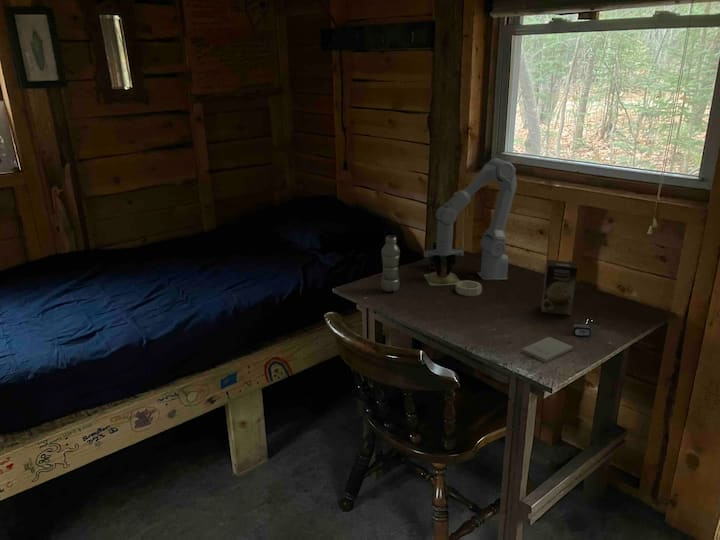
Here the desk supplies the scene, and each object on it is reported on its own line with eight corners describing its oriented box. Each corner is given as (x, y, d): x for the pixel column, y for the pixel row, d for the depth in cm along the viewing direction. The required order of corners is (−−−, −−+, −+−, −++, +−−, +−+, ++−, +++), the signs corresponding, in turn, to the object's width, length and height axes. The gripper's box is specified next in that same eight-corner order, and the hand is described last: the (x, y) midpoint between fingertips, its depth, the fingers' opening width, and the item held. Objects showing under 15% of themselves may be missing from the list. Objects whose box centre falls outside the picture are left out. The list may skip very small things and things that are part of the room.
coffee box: (541, 312, 181) (546, 265, 176) (540, 304, 187) (546, 259, 182) (571, 315, 179) (577, 267, 174) (570, 307, 185) (576, 261, 180)
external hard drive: (572, 351, 157) (545, 364, 150) (547, 341, 163) (520, 353, 156) (573, 346, 156) (546, 359, 149) (548, 336, 163) (520, 347, 156)
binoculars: (461, 246, 217) (439, 247, 213) (457, 272, 220) (436, 274, 216) (448, 240, 225) (427, 241, 220) (445, 266, 228) (424, 267, 223)
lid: (452, 273, 214) (453, 259, 213) (460, 283, 205) (461, 268, 203) (425, 274, 213) (426, 260, 211) (432, 284, 204) (432, 269, 202)
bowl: (476, 288, 202) (476, 280, 201) (483, 296, 194) (484, 288, 193) (453, 288, 201) (453, 281, 200) (459, 297, 193) (460, 289, 192)
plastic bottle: (402, 292, 198) (404, 238, 191) (385, 295, 196) (386, 240, 189) (395, 286, 204) (396, 233, 197) (377, 289, 201) (378, 235, 195)
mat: (453, 274, 215) (454, 273, 215) (462, 285, 204) (462, 284, 204) (423, 275, 214) (423, 274, 214) (430, 287, 203) (430, 285, 203)
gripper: (461, 235, 208) (458, 270, 213) (422, 236, 207) (421, 271, 211) (466, 241, 202) (464, 276, 206) (426, 242, 200) (425, 278, 205)
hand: (442, 274), depth 208 cm, fingers closed on lid, 3 cm apart
